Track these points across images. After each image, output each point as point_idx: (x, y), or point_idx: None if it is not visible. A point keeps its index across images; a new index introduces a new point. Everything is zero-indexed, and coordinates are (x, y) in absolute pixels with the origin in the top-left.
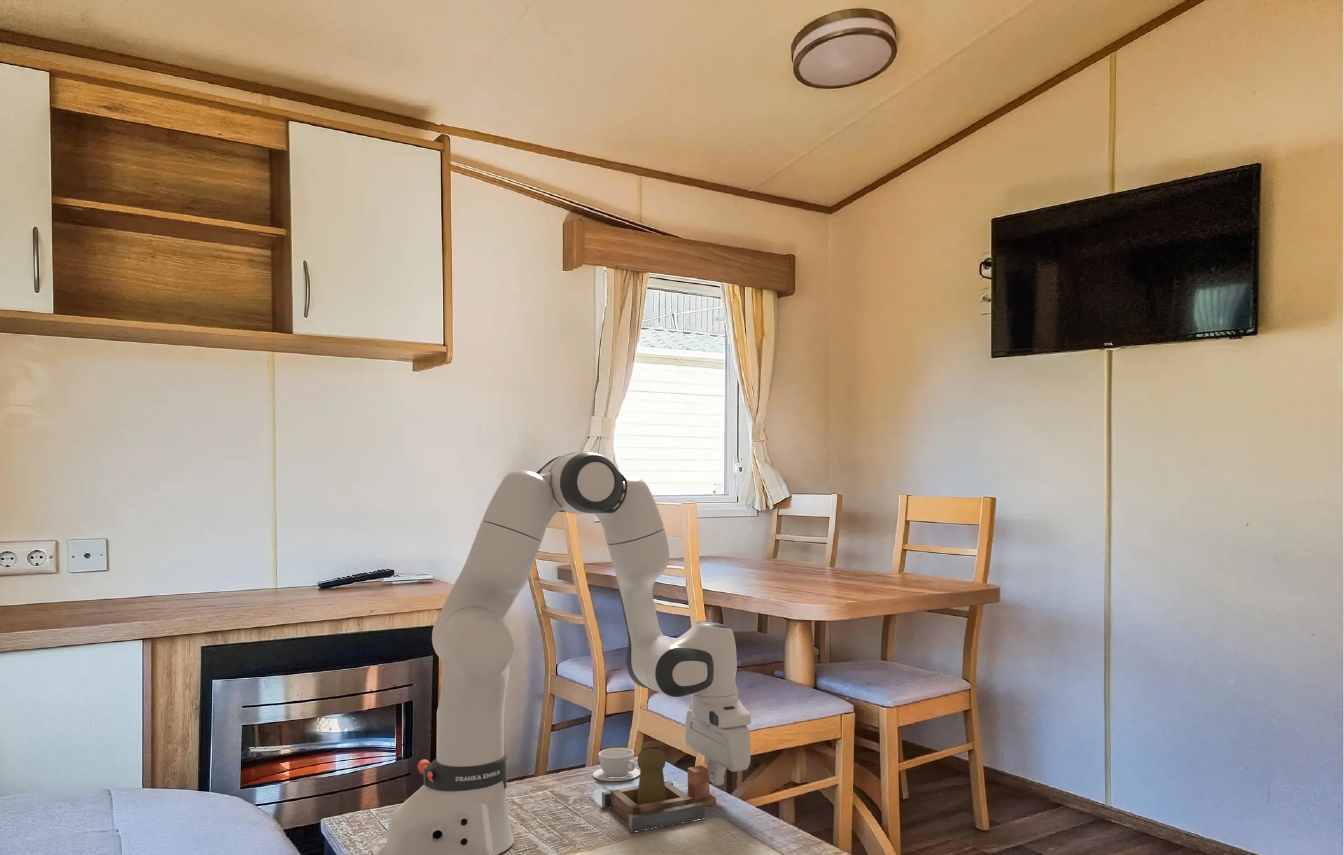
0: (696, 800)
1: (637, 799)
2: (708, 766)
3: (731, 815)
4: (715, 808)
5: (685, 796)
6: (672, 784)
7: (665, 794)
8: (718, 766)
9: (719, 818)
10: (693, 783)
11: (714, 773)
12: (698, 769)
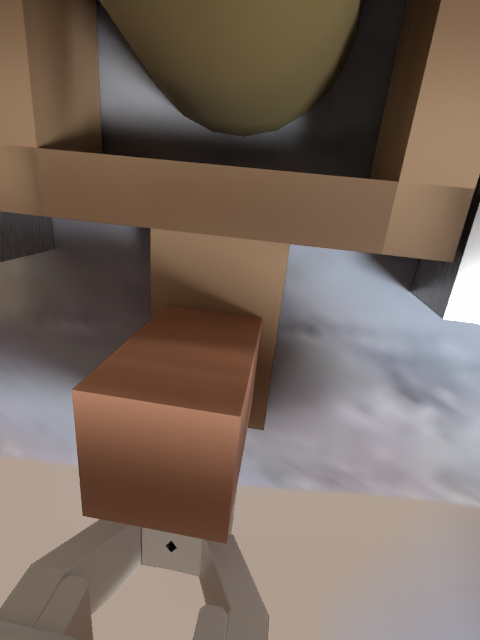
0: (154, 307)
1: None
2: (217, 573)
3: (23, 370)
4: None
5: (41, 189)
6: (439, 311)
7: (132, 43)
8: (20, 587)
9: (7, 308)
10: (148, 344)
11: (123, 525)
12: (128, 460)
